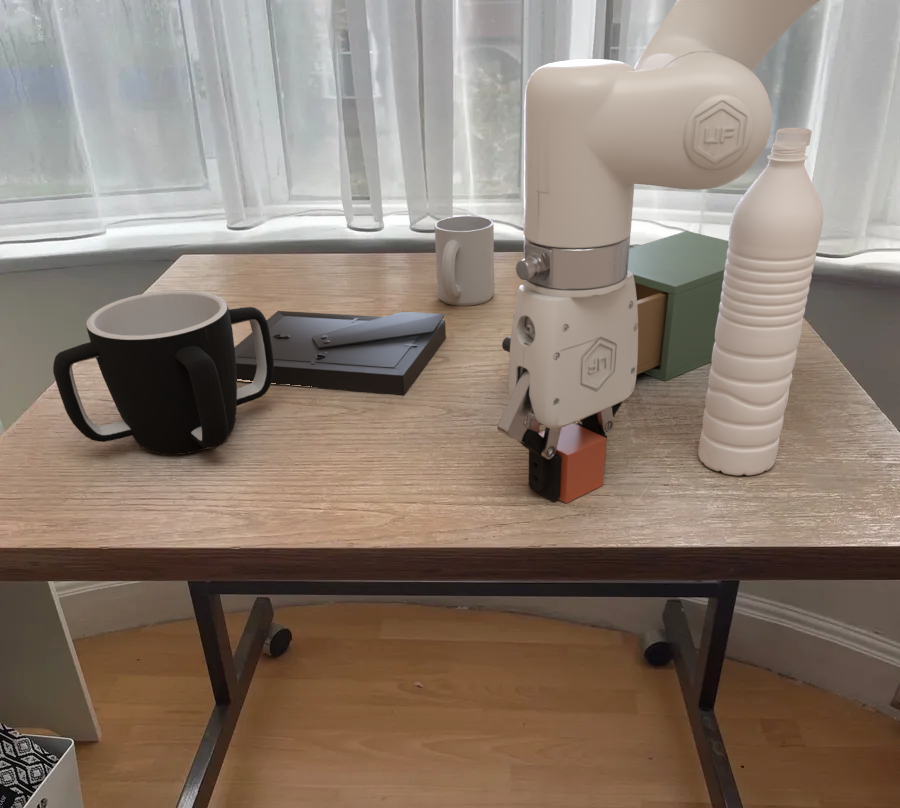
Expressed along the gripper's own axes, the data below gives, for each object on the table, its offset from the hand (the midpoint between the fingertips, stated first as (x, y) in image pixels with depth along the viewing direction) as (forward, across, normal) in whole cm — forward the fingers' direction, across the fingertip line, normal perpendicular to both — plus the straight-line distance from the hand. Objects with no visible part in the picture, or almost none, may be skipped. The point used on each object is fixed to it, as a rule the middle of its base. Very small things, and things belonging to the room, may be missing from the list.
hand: (566, 480), depth 76 cm
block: (0, 0, 0) cm, 0 cm away
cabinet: (0, +30, +14) cm, 33 cm away
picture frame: (+1, +1, +37) cm, 37 cm away
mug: (0, -20, +31) cm, 37 cm away
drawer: (0, +17, +14) cm, 22 cm away
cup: (+1, +23, +42) cm, 48 cm away
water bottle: (+1, +15, -6) cm, 16 cm away
